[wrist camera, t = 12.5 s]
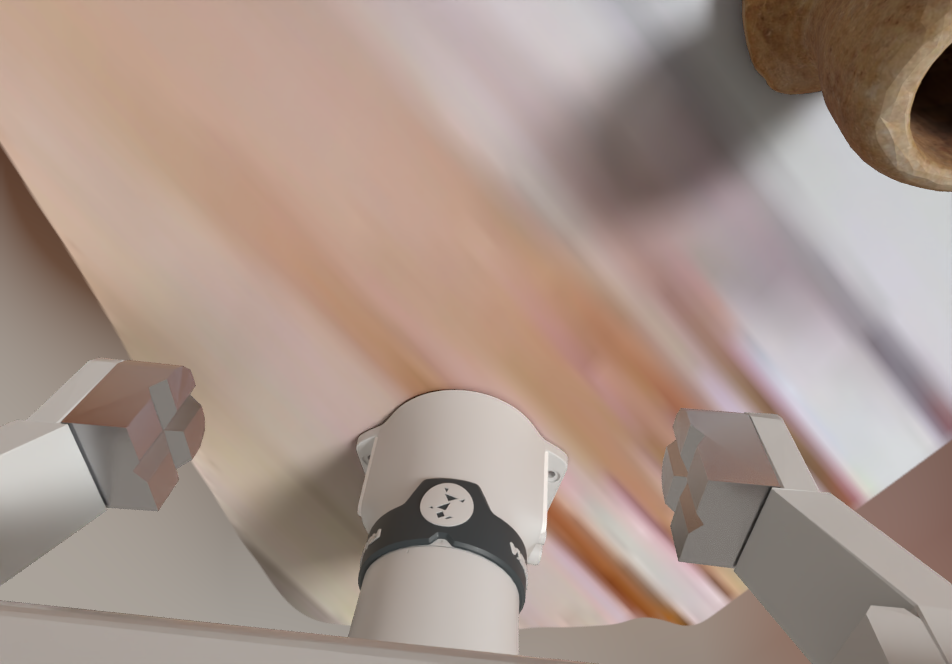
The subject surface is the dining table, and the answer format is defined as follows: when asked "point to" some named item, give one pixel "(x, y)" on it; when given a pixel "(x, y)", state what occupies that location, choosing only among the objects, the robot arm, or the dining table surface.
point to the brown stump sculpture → (867, 75)
